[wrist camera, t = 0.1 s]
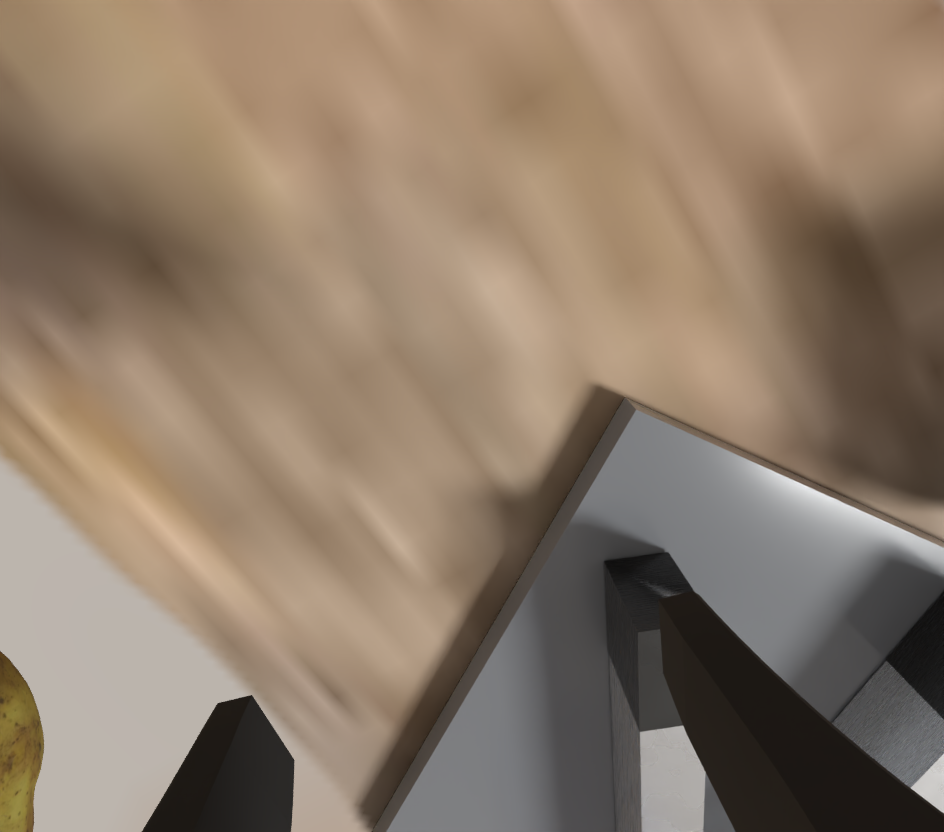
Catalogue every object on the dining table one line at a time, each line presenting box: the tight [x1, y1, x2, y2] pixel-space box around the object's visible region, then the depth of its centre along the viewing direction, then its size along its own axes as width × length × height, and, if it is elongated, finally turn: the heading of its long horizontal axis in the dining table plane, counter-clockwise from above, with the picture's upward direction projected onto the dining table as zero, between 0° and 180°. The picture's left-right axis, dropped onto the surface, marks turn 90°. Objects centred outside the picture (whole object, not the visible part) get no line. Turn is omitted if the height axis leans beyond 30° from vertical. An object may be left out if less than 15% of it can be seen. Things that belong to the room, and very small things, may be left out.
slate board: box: [372, 398, 944, 832], centre depth 25 cm, size 23×19×1 cm
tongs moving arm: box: [604, 552, 705, 832], centre depth 22 cm, size 18×2×4 cm, turn 7°
